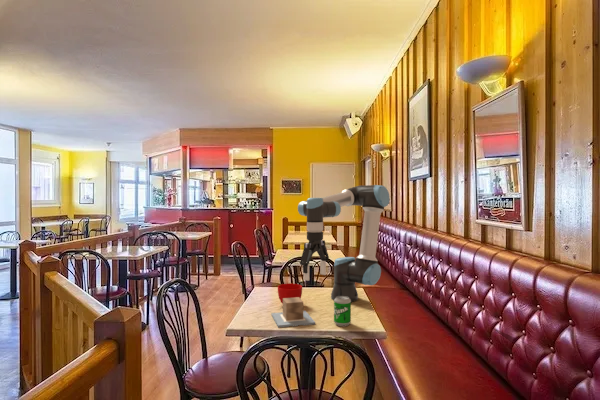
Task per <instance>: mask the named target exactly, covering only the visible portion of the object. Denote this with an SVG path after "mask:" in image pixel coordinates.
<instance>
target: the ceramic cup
mask: <svg viewBox="0 0 600 400" xmlns="http://www.w3.org/2000/svg"><path fill="white" fill-rule="evenodd" d="M302 293H303V285H301V284H298V283H290V282H289V283H281V284H279V285H277V295H278V299H279V301H280V303H281V304H282V305H283V298H294V297H299V298H300V299H301V300H302V295H303V294H302Z"/></svg>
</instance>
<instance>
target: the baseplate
mask: <svg viewBox="0 0 600 400" xmlns="http://www.w3.org/2000/svg"><path fill="white" fill-rule="evenodd" d="M271 317H272V320H274V323H275V324H276V326H277V328H279V329H280V327H281V328H290V327H289V326H292V327H299V326H298V325H303V326H314V325H316V321H315V320H314V319H313V318H312V316H310V314H309V313H308V311H306V310H303V319H300V320H289V321H286V319H285V318H284V316H283V311H282V312H281V311H280V312H272V313H271Z"/></svg>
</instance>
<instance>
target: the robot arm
mask: <svg viewBox="0 0 600 400" xmlns="http://www.w3.org/2000/svg"><path fill="white" fill-rule="evenodd" d="M390 198H391V197H390V193H389V190H388V188H387V187H386V186H384V185H380V184H379V185H378V184H372V185H371V184H370V185H366V184H365V185H364V184H363V185H362V184H361V185H356V186H353V187H349V188H346V189H343V190H342V191H341V192H338V193H333V194H330V195H327V196H323V197H309V198H307V199H306V200H302V201H300V202H298V205H297V212H298V214H299V215H301V216H303V217H306V231H307V232H306V240H307V241H308V242H305V243H304V244H303V250H302V254H301V257H300V258H301V259H300V260H299V265H300V266H302V272H303V281H306V282H307V281H310V265H309V264H310V262H311V260H312V256H313V255H314V254H315V253H317V255H318V257H319V258H320V261H319V269H320V270H319V275H323V276H326V275H327V262H328V261H329V253H328V249H327V246H326V240H324V232H323V231H324V219H325V218H336V217H338V216H339V215H340V214H341V212H342V208H343V207H350V206H351V207H352V206H357V207H358V206H359V207H362V209H363V211H364V214H363V215H364V216H363V223H362V231H361V239H360V247H359V253H358V255H357V256H356V257H354V256H344V257H343V256H342V257H338V258H335V259H334V264H333V278H334V279H333V288H332V290H331V293H330V298H331V300H333V301H334V299H335V298H336V297H337V296H346V297H349V299H350V300H351V303H353V302H357V301H358V300H359V293H358V290H357V287H356V284H361V285H363V286H364V285H365V286H375V285H376V284H377V282H379V280H380V278H381V275H382V274H381V273H382V268H381V266H380V265H379V263H378V261H379V260H378V259H377V257H376V253H377V248H378V247H377V246H378V238H379V229H380V221H381V220H380V219H381V214H382V213H383V212H385V208H386V207H388V206H389V203H390ZM341 207H342V208H341Z"/></svg>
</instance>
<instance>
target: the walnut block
mask: <svg viewBox="0 0 600 400" xmlns="http://www.w3.org/2000/svg"><path fill="white" fill-rule="evenodd" d="M303 311H304V301H303V299H302V298H301V299H300V298H299V297H294V298H283V304H282V312H283V316H284V318H285V319H286V321H289V320H300V319H303Z"/></svg>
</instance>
